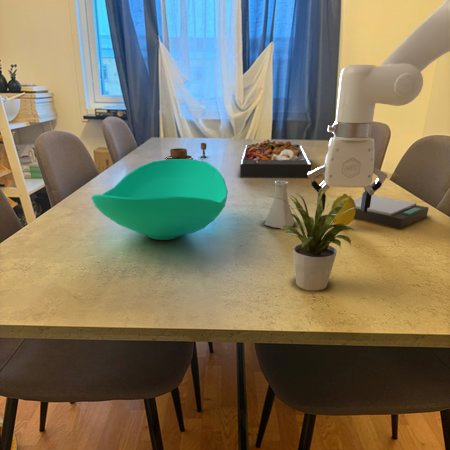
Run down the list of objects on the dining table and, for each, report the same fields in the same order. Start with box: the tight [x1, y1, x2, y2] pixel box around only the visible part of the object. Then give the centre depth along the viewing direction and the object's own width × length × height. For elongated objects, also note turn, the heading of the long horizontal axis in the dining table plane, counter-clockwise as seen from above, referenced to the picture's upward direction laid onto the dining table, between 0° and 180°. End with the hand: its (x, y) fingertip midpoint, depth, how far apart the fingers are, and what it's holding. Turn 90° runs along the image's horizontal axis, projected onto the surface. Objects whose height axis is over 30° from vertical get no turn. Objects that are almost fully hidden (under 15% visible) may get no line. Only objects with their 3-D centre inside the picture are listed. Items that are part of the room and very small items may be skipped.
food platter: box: [239, 139, 313, 179], centre depth 169 cm, size 45×25×10 cm, turn 175°
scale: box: [353, 194, 429, 230], centre depth 108 cm, size 16×14×3 cm
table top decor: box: [91, 159, 229, 241], centre depth 94 cm, size 40×28×13 cm
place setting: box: [164, 142, 208, 160], centre depth 181 cm, size 18×20×6 cm
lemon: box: [330, 193, 356, 226], centre depth 99 cm, size 6×6×8 cm
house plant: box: [269, 188, 357, 292], centre depth 70 cm, size 14×14×16 cm
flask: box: [263, 180, 295, 229], centre depth 101 cm, size 7×7×10 cm
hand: (342, 210), depth 99 cm, fingers open, 9 cm apart
